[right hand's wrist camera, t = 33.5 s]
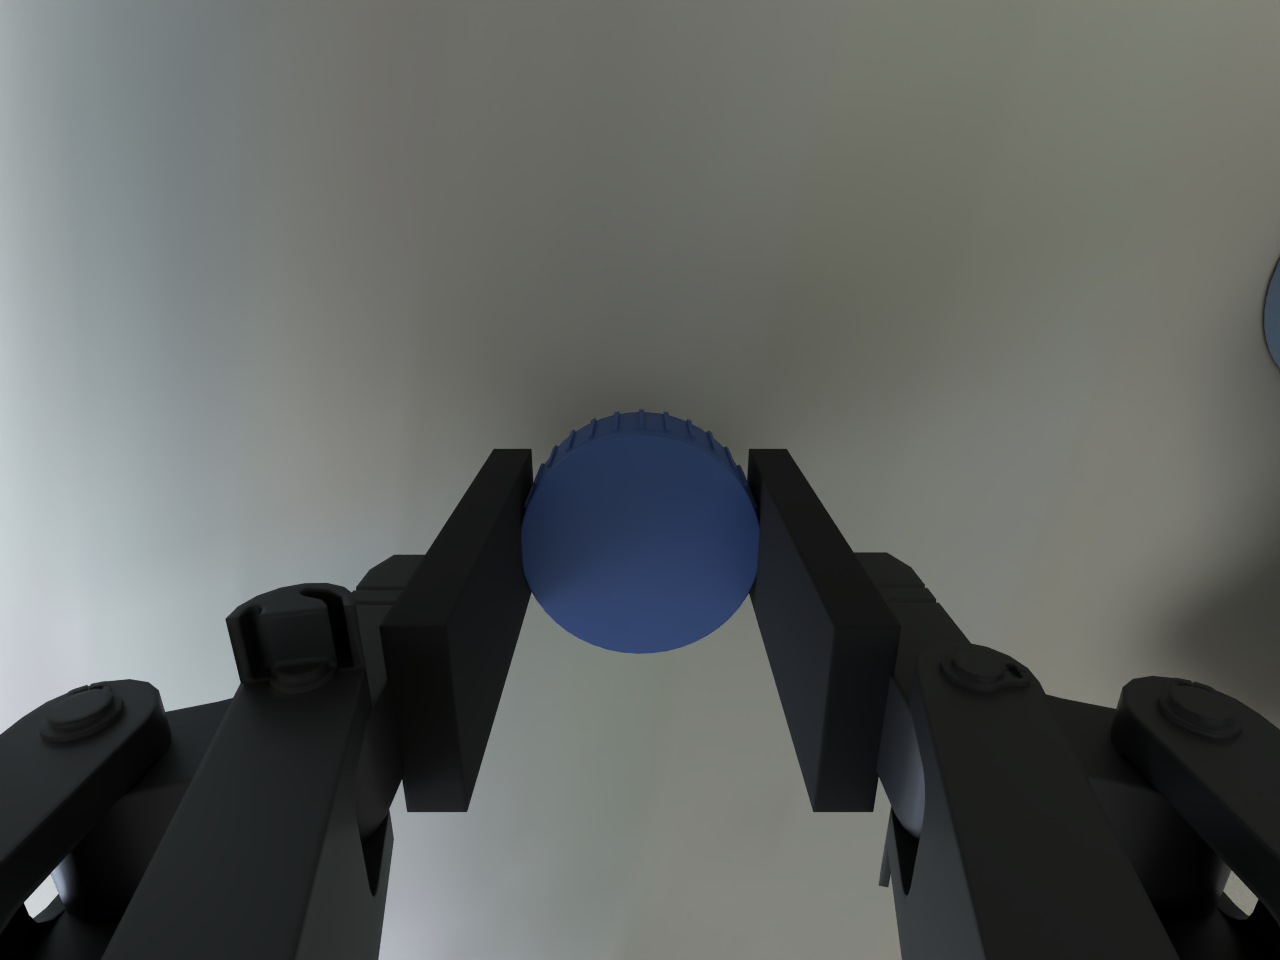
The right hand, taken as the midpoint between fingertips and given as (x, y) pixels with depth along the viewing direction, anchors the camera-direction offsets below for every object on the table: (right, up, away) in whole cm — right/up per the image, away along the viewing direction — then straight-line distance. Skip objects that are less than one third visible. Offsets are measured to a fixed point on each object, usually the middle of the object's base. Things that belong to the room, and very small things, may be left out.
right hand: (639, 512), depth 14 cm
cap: (0, -1, -1) cm, 1 cm away
